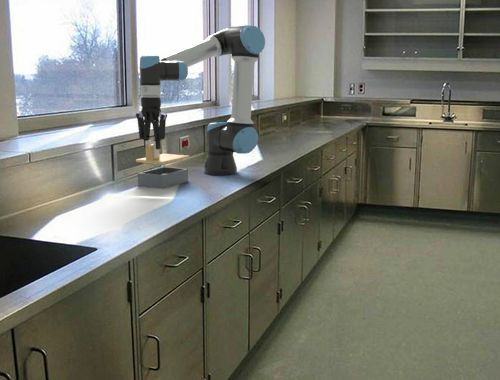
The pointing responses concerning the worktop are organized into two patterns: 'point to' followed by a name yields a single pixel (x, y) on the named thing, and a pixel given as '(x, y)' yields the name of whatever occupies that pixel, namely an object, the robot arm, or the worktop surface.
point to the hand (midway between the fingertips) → (152, 157)
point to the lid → (161, 159)
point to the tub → (162, 177)
